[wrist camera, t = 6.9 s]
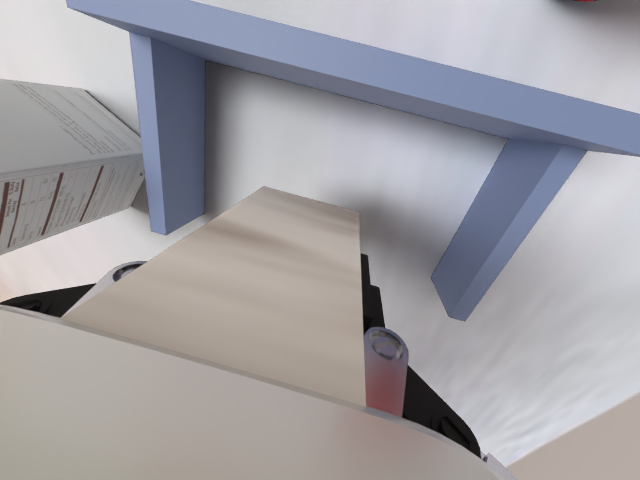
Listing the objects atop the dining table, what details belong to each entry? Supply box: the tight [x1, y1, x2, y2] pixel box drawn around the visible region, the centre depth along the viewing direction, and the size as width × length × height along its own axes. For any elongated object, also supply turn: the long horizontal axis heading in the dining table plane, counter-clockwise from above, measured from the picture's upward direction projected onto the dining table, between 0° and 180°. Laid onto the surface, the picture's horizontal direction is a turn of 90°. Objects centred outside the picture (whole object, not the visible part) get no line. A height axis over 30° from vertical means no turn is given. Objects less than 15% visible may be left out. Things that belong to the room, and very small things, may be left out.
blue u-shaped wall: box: [66, 0, 640, 321], centre depth 16 cm, size 13×24×8 cm, turn 77°
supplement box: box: [0, 79, 145, 255], centre depth 16 cm, size 7×7×13 cm
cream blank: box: [60, 186, 366, 407], centre depth 9 cm, size 5×5×10 cm
